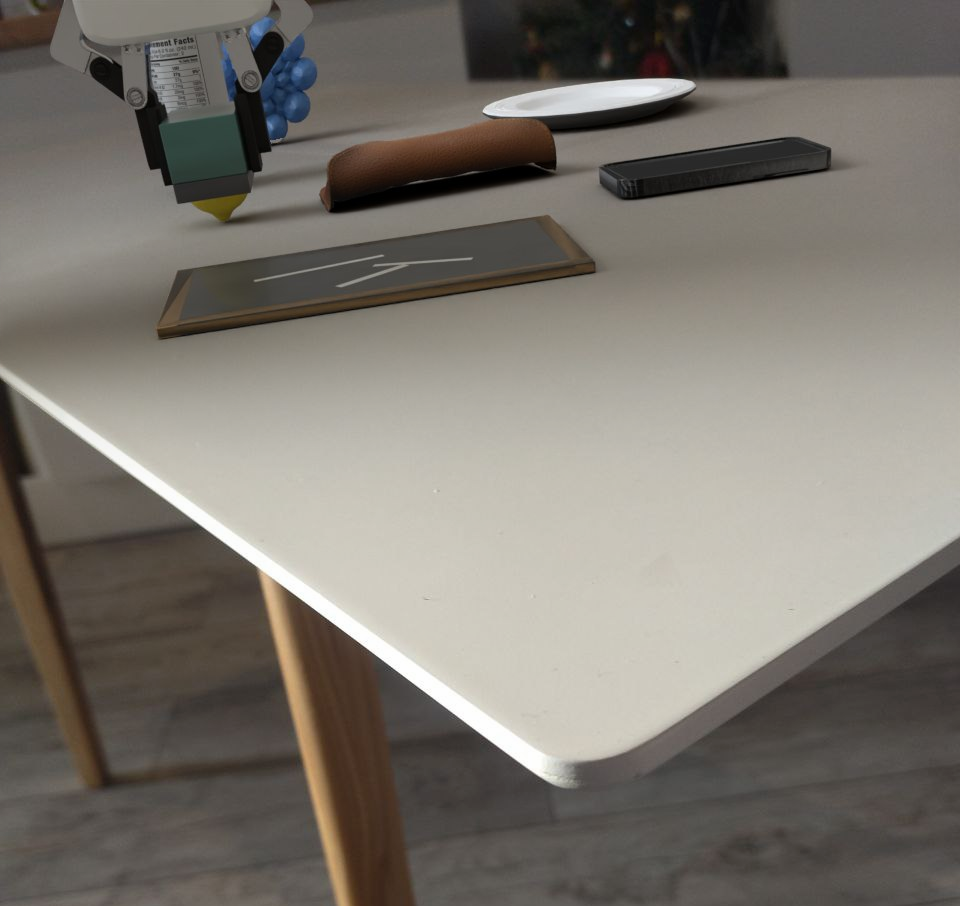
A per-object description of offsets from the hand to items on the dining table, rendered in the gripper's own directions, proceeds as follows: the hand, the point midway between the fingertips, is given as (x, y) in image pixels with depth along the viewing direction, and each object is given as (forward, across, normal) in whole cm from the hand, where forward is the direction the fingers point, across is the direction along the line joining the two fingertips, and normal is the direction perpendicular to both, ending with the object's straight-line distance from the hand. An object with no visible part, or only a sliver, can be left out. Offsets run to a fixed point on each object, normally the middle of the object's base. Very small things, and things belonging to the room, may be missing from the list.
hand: (214, 171), depth 68 cm
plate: (+7, -32, -53) cm, 63 cm away
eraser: (+1, 0, 0) cm, 1 cm away
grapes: (+7, -1, -68) cm, 68 cm away
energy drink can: (+7, +4, -43) cm, 43 cm away
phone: (+7, -33, -14) cm, 37 cm away
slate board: (+7, -8, 0) cm, 10 cm away
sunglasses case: (+7, -14, -27) cm, 31 cm away
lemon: (+7, +2, -25) cm, 26 cm away
